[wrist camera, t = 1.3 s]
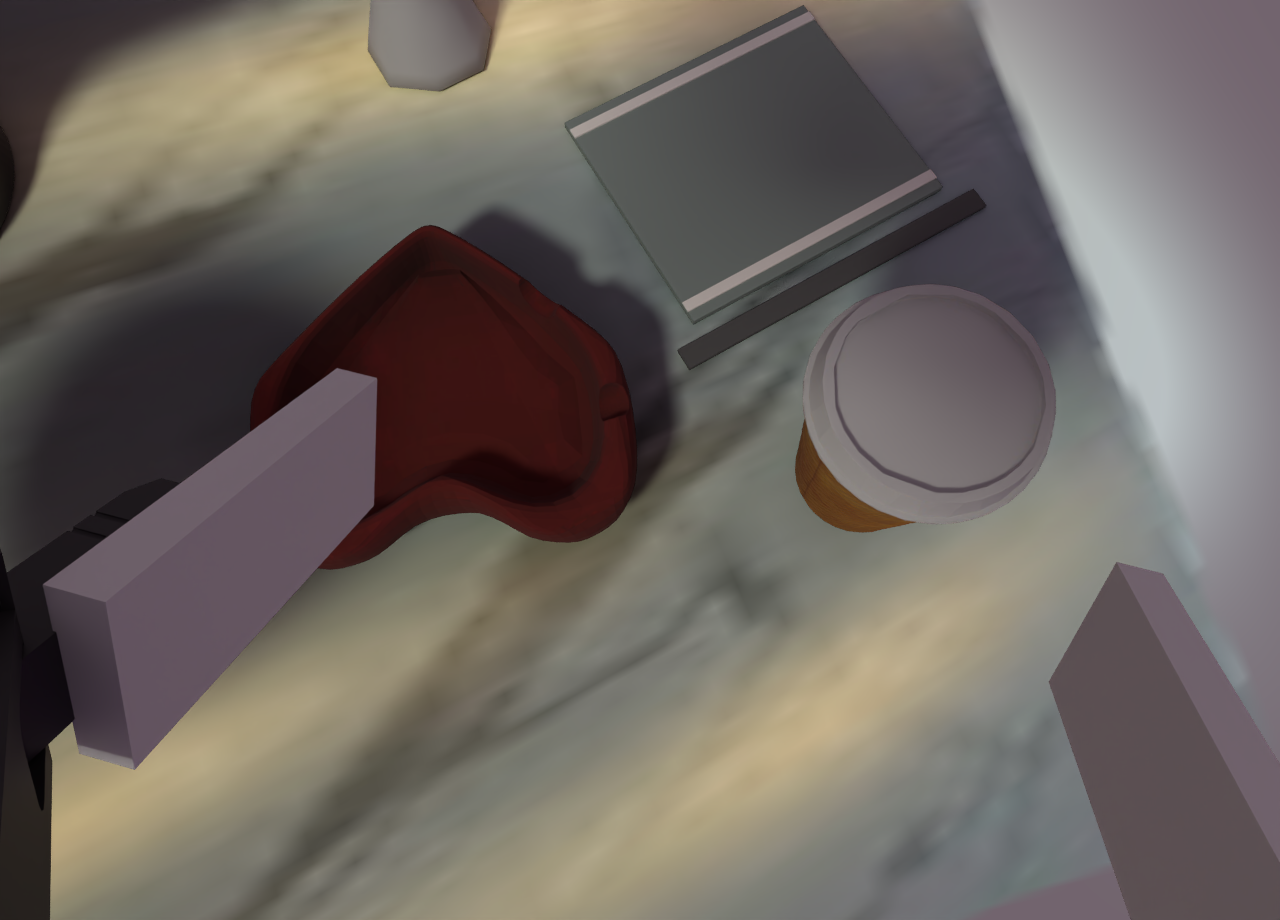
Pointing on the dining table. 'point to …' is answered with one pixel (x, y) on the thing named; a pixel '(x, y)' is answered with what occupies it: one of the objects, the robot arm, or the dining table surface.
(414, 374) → the ashtray
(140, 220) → the dining table surface
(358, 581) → the dining table surface
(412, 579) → the dining table surface
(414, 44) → the flask
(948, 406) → the disposable coffee cup
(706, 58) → the mat
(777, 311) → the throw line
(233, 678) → the dining table surface
